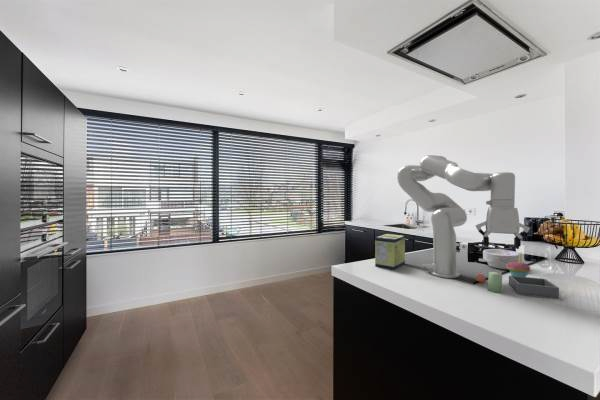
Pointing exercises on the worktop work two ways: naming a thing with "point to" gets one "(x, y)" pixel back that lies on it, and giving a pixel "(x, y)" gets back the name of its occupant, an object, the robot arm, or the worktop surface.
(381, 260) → the protein box
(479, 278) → the tomato ball
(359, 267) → the worktop surface
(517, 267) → the cupcake
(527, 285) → the bin
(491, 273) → the cucumber chunk
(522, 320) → the worktop surface
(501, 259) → the paper bowls
